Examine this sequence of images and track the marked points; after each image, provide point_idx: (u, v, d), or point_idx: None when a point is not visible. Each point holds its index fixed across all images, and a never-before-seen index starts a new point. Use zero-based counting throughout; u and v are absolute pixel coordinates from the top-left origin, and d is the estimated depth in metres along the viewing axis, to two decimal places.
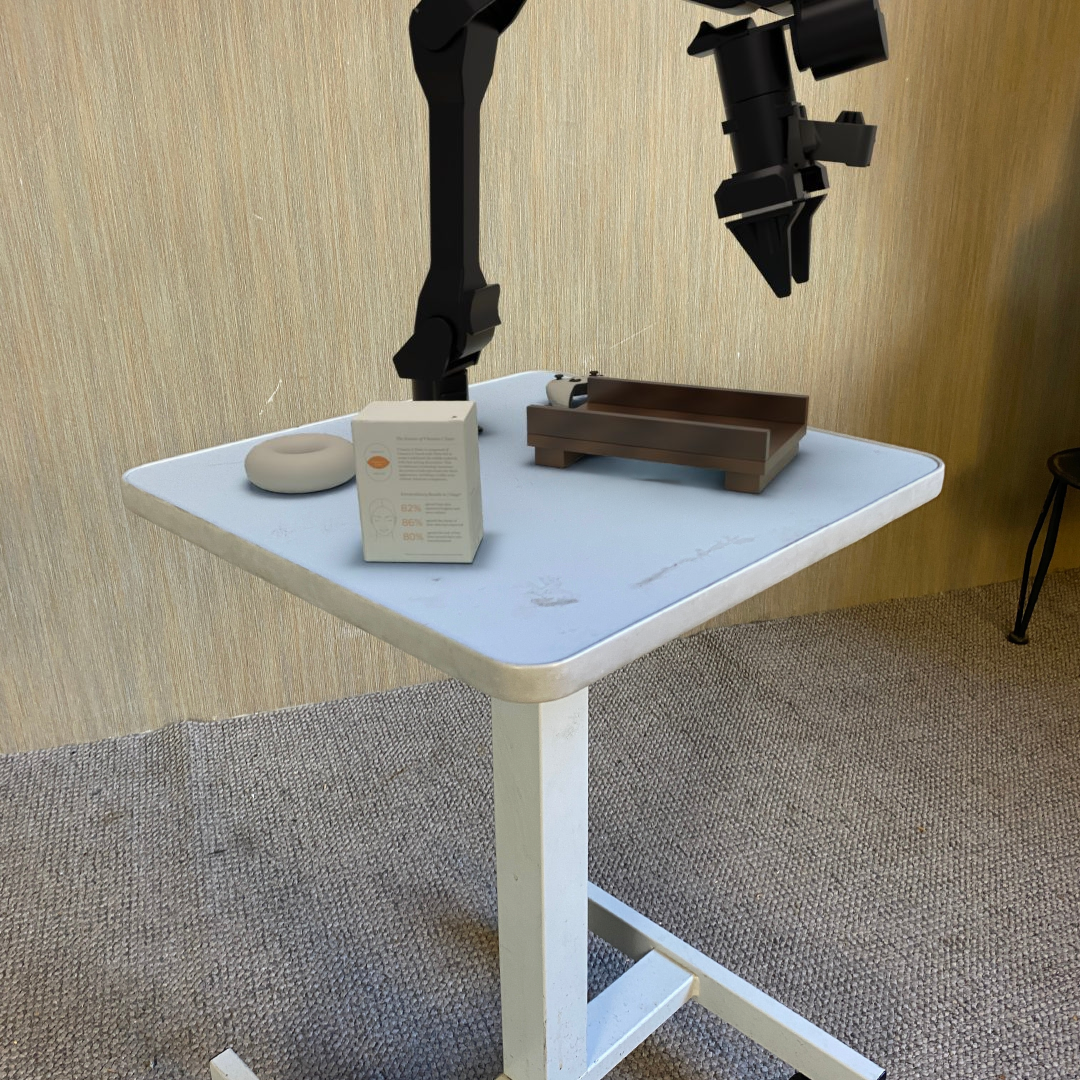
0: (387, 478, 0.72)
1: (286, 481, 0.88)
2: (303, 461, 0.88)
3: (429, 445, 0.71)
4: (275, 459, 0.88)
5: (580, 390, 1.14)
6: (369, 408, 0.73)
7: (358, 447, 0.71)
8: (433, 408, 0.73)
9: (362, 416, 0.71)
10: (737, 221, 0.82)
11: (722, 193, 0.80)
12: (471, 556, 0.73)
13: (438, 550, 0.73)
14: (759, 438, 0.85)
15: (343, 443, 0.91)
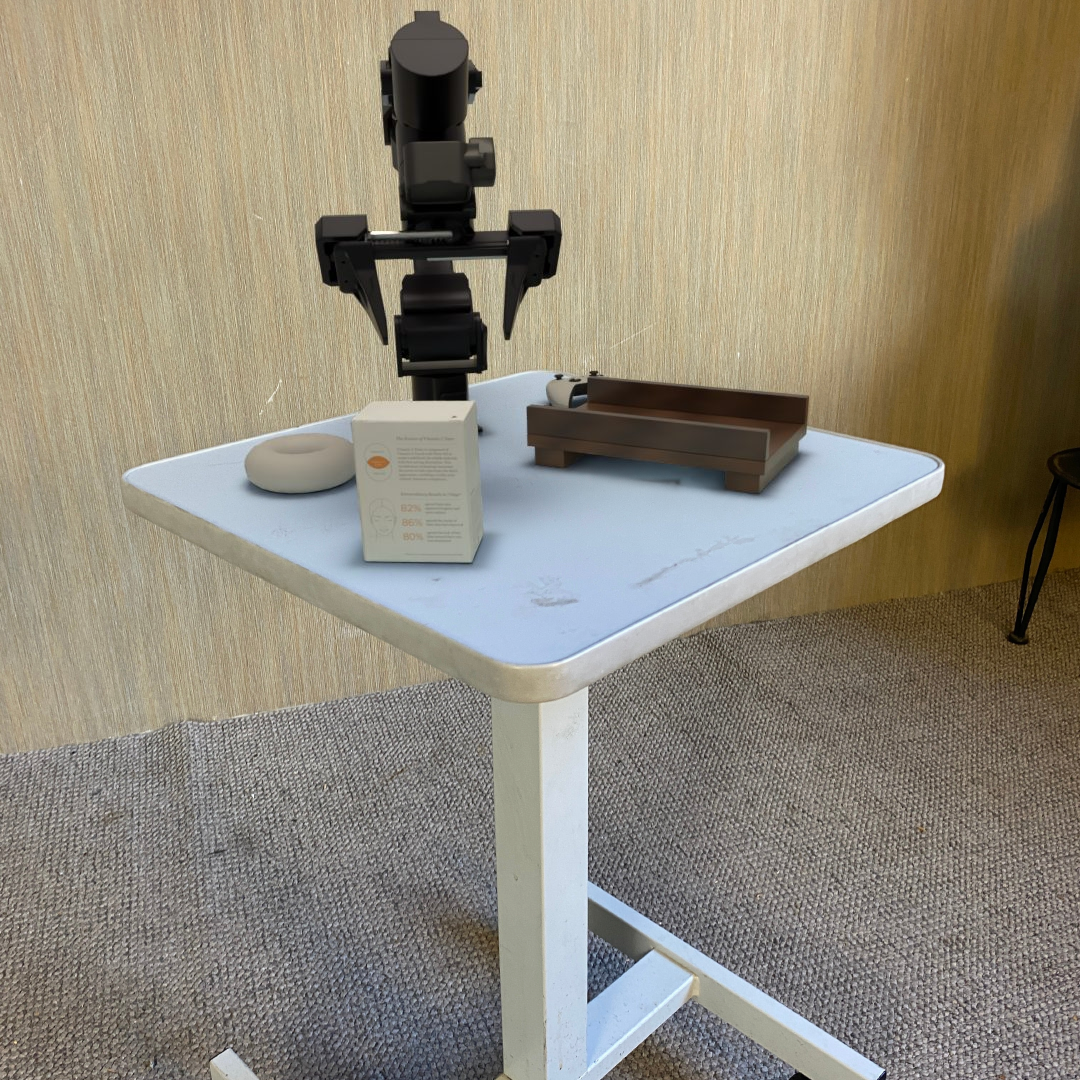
0: (387, 478, 0.72)
1: (286, 481, 0.88)
2: (303, 461, 0.88)
3: (429, 445, 0.71)
4: (275, 459, 0.88)
5: (580, 390, 1.14)
6: (369, 408, 0.73)
7: (358, 447, 0.71)
8: (433, 408, 0.73)
9: (362, 416, 0.71)
10: None
11: None
12: (471, 556, 0.73)
13: (438, 550, 0.73)
14: (759, 438, 0.85)
15: (343, 443, 0.91)
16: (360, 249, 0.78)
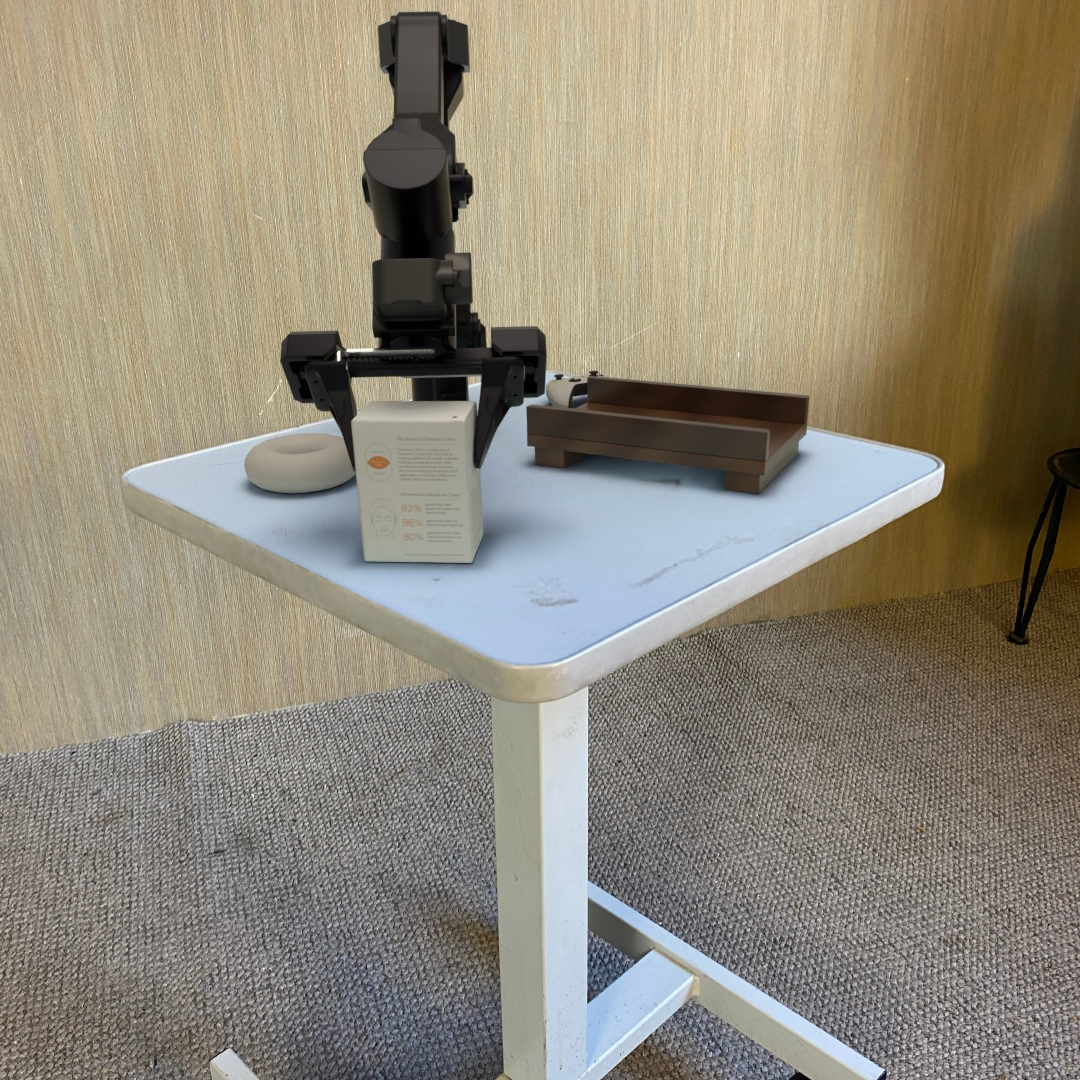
0: (388, 478, 0.72)
1: (286, 481, 0.88)
2: (303, 461, 0.88)
3: (430, 446, 0.71)
4: (275, 459, 0.88)
5: (580, 390, 1.14)
6: (369, 408, 0.73)
7: (358, 447, 0.71)
8: (433, 408, 0.73)
9: (362, 416, 0.71)
10: None
11: None
12: (471, 556, 0.73)
13: (438, 550, 0.73)
14: (759, 438, 0.85)
15: (343, 443, 0.91)
16: (332, 369, 0.73)
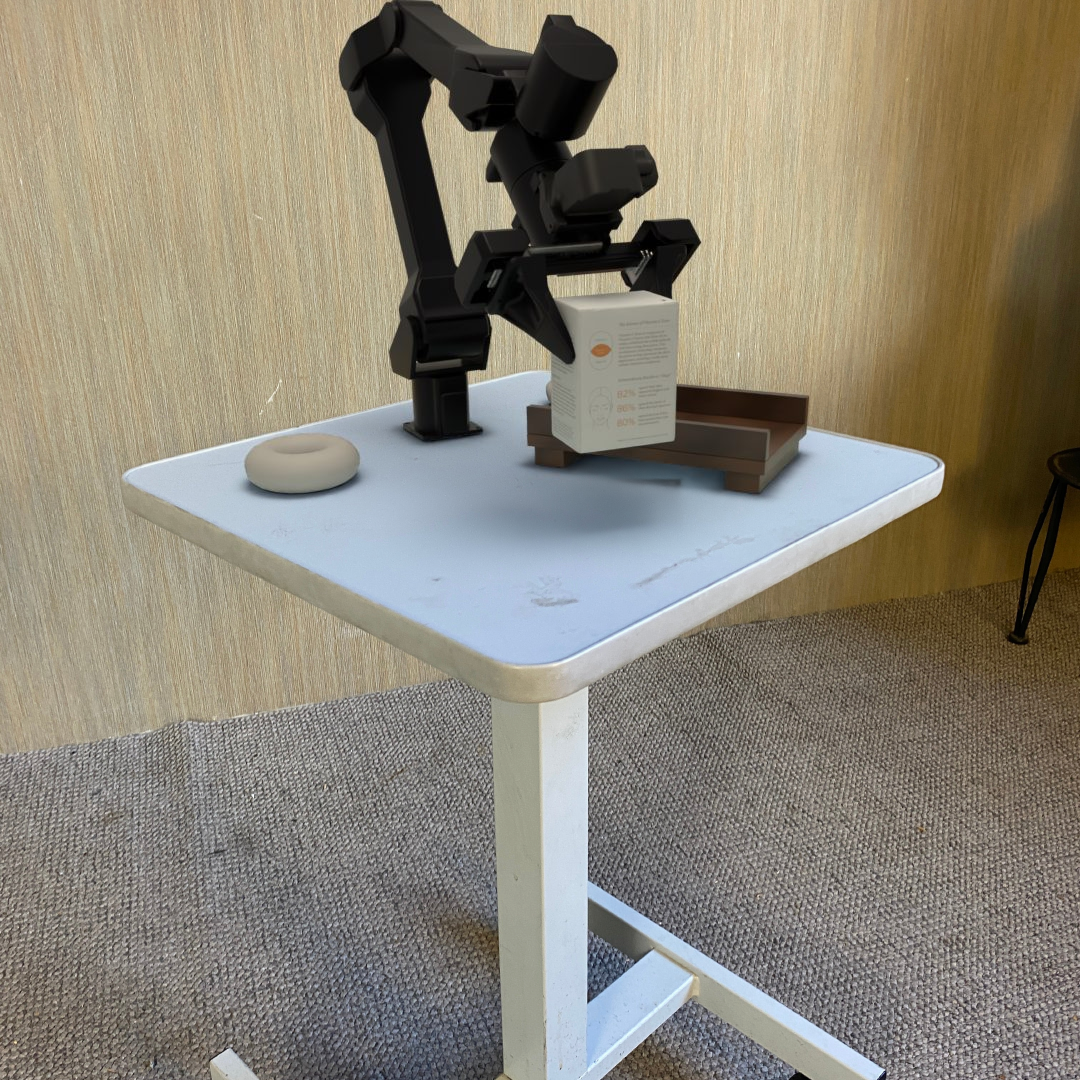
0: (608, 365, 0.74)
1: (286, 481, 0.88)
2: (303, 461, 0.88)
3: (648, 329, 0.74)
4: (275, 459, 0.88)
5: None
6: (569, 301, 0.74)
7: (584, 337, 0.72)
8: (628, 296, 0.76)
9: (581, 306, 0.73)
10: (488, 303, 0.76)
11: (454, 282, 0.76)
12: (674, 434, 0.78)
13: (646, 432, 0.77)
14: (759, 438, 0.85)
15: (343, 443, 0.91)
16: (534, 264, 0.73)
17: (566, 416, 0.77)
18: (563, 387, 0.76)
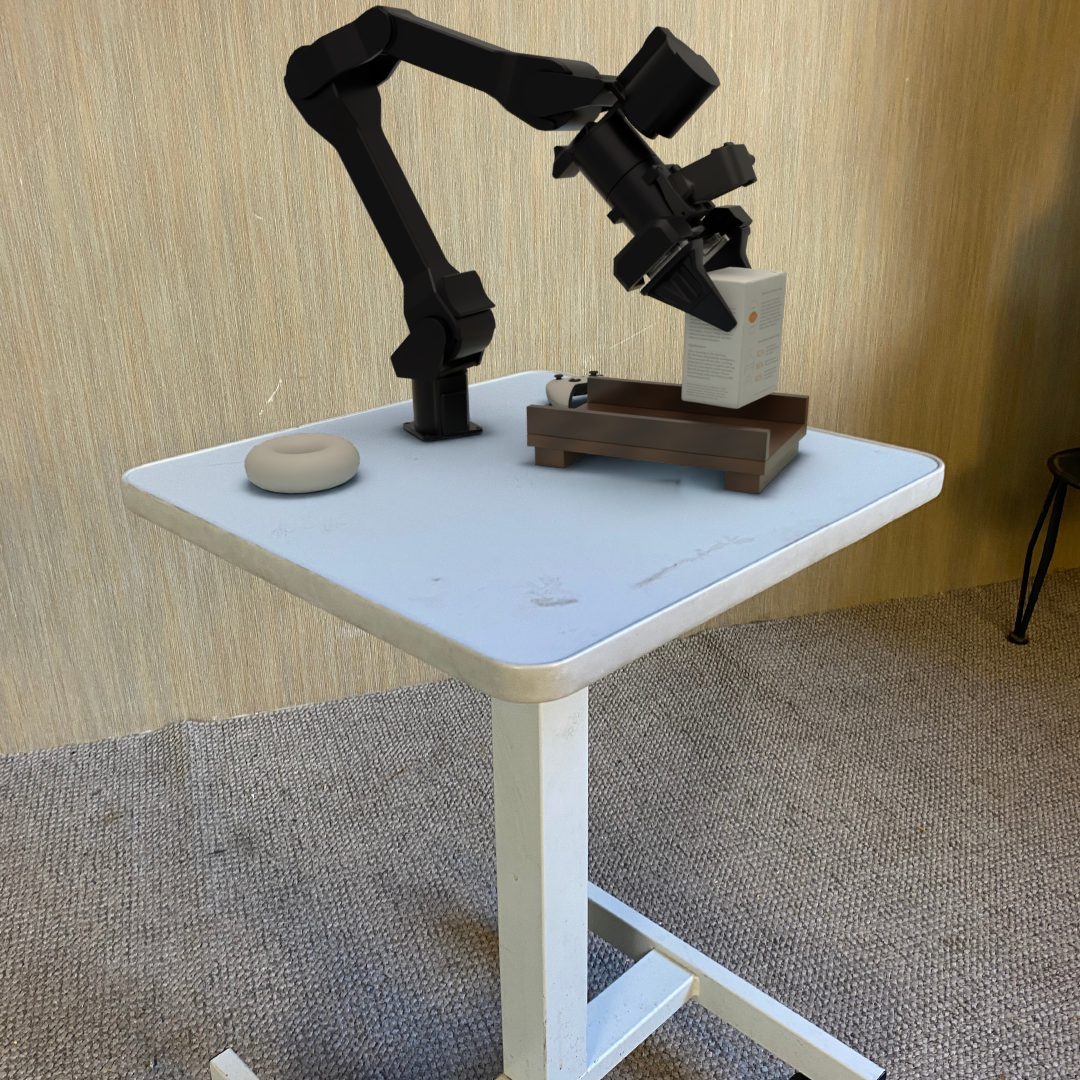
0: (755, 329, 0.86)
1: (286, 481, 0.88)
2: (303, 461, 0.88)
3: (773, 296, 0.88)
4: (275, 459, 0.88)
5: (580, 390, 1.14)
6: (715, 278, 0.85)
7: (747, 306, 0.84)
8: (741, 271, 0.89)
9: (739, 280, 0.84)
10: (647, 284, 0.83)
11: (616, 268, 0.82)
12: (777, 385, 0.93)
13: (766, 385, 0.91)
14: (759, 438, 0.85)
15: (343, 443, 0.91)
16: (699, 246, 0.82)
17: (714, 379, 0.87)
18: (710, 353, 0.87)
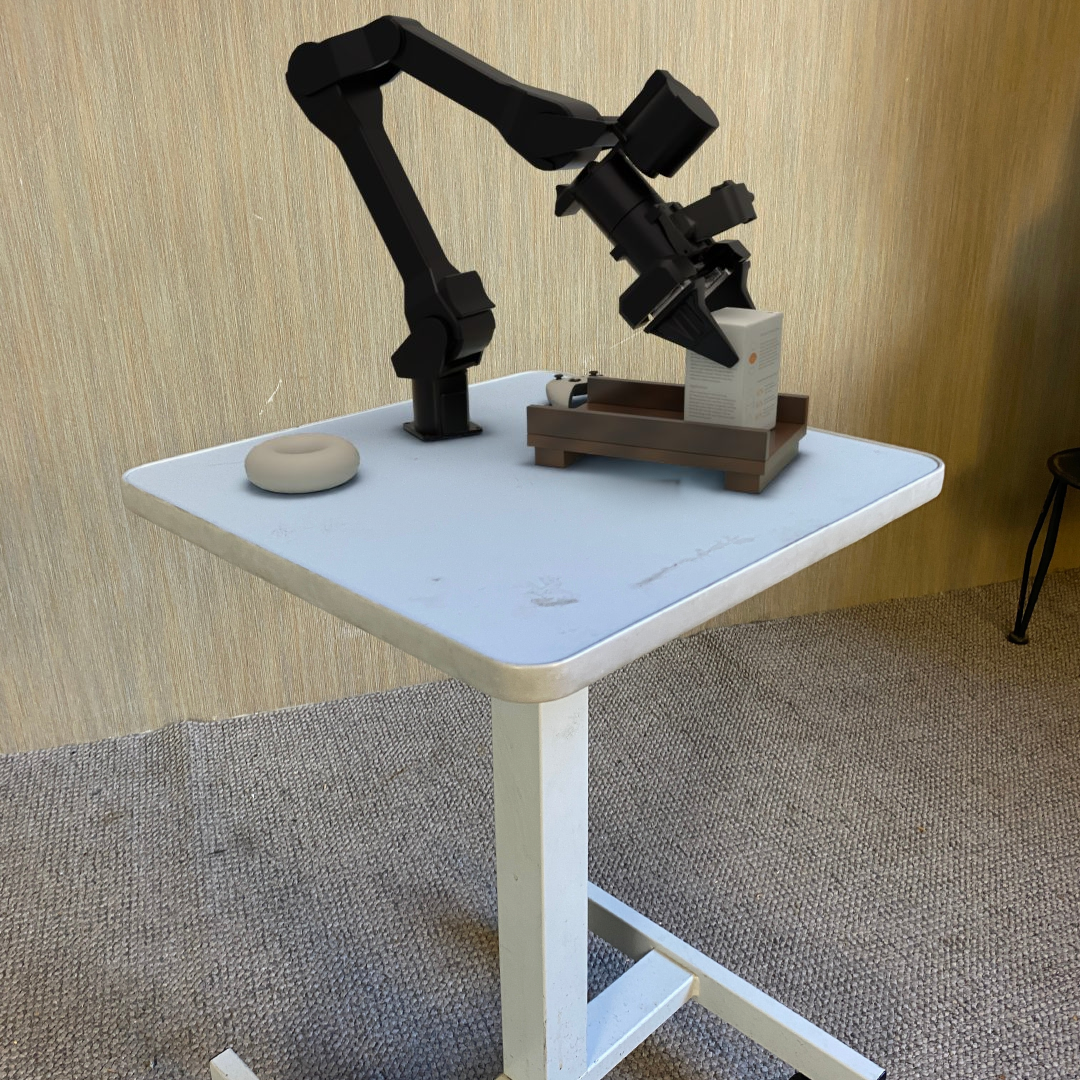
0: (754, 370, 0.88)
1: (286, 481, 0.88)
2: (303, 461, 0.88)
3: (771, 337, 0.90)
4: (275, 459, 0.88)
5: (580, 390, 1.14)
6: None
7: (747, 348, 0.86)
8: (739, 312, 0.91)
9: (739, 323, 0.86)
10: (651, 323, 0.85)
11: (622, 307, 0.84)
12: (775, 421, 0.95)
13: (765, 422, 0.93)
14: (759, 438, 0.85)
15: (343, 443, 0.91)
16: (701, 285, 0.84)
17: (716, 419, 0.89)
18: (711, 394, 0.89)
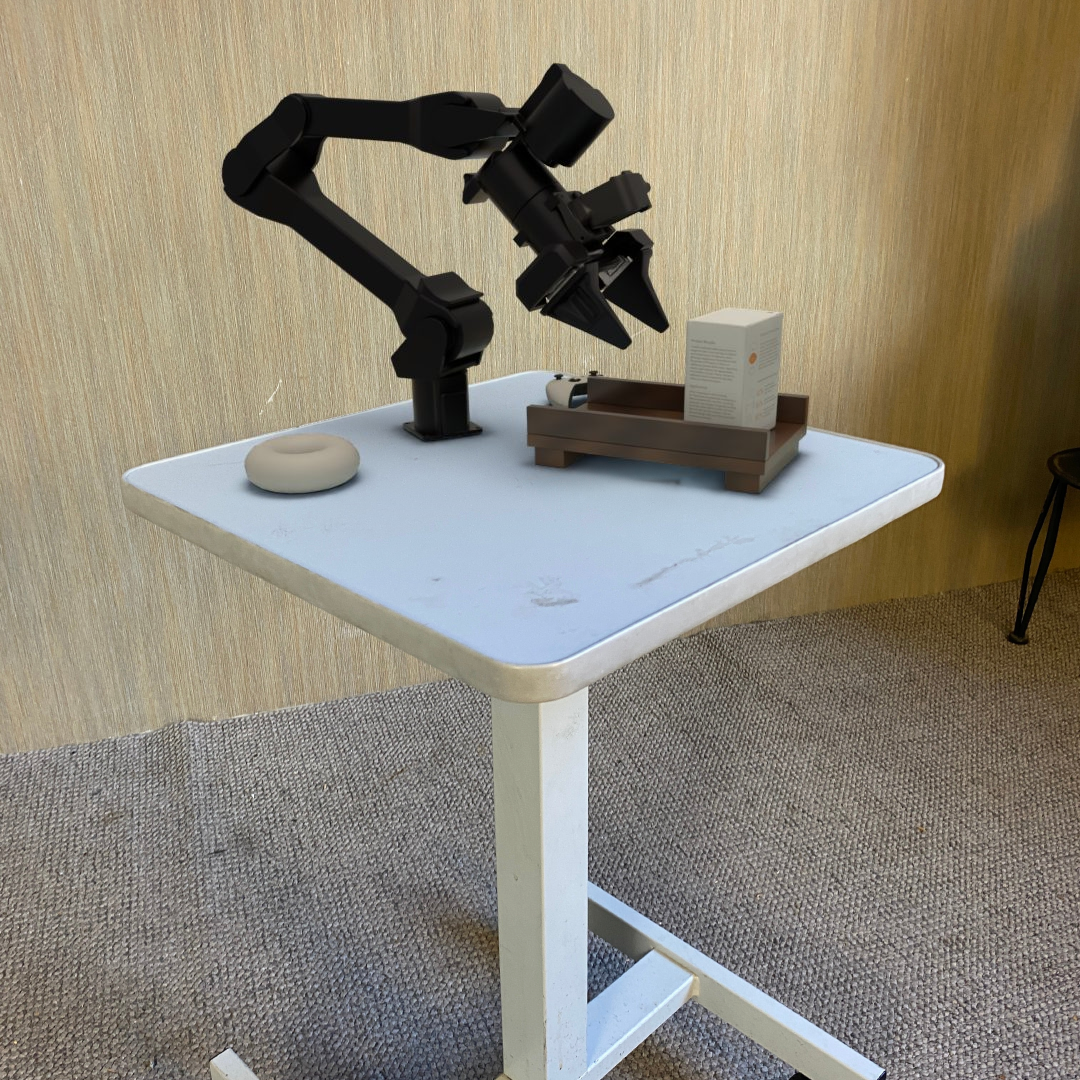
0: (754, 370, 0.88)
1: (286, 481, 0.88)
2: (303, 461, 0.88)
3: (771, 337, 0.90)
4: (275, 459, 0.88)
5: (580, 390, 1.14)
6: (715, 321, 0.87)
7: (747, 348, 0.86)
8: (739, 312, 0.91)
9: (739, 323, 0.86)
10: (546, 305, 0.88)
11: (518, 290, 0.88)
12: (775, 421, 0.95)
13: (765, 422, 0.93)
14: (759, 438, 0.85)
15: (343, 443, 0.91)
16: (593, 269, 0.88)
17: (716, 419, 0.89)
18: (711, 394, 0.89)
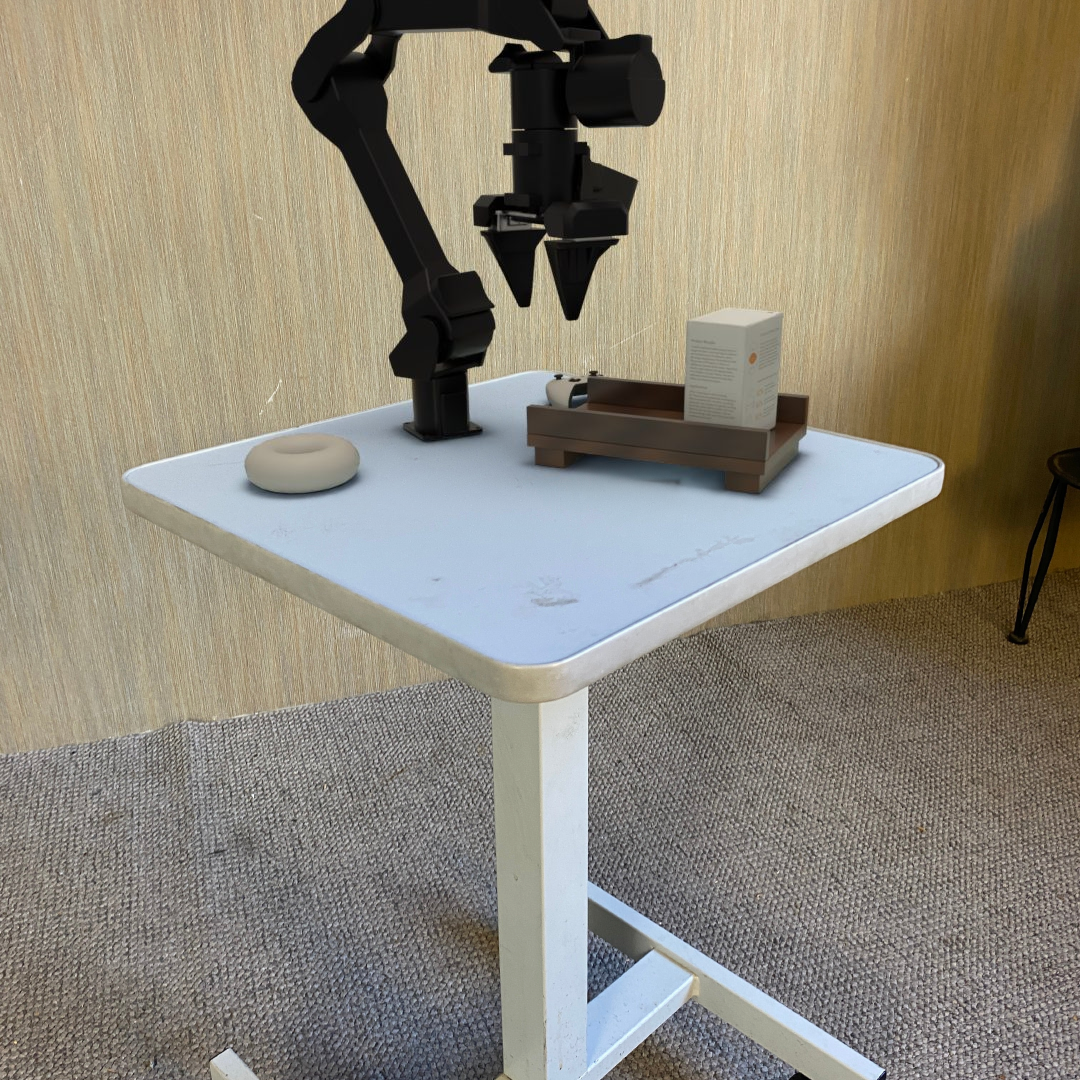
0: (754, 370, 0.88)
1: (286, 481, 0.88)
2: (303, 461, 0.88)
3: (771, 337, 0.90)
4: (275, 459, 0.88)
5: (580, 390, 1.14)
6: (715, 321, 0.87)
7: (747, 348, 0.86)
8: (739, 312, 0.91)
9: (739, 323, 0.86)
10: (572, 244, 0.85)
11: (575, 215, 0.83)
12: (775, 421, 0.95)
13: (765, 422, 0.93)
14: (759, 438, 0.85)
15: (343, 443, 0.91)
16: None
17: (716, 419, 0.89)
18: (711, 394, 0.89)
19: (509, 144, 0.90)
